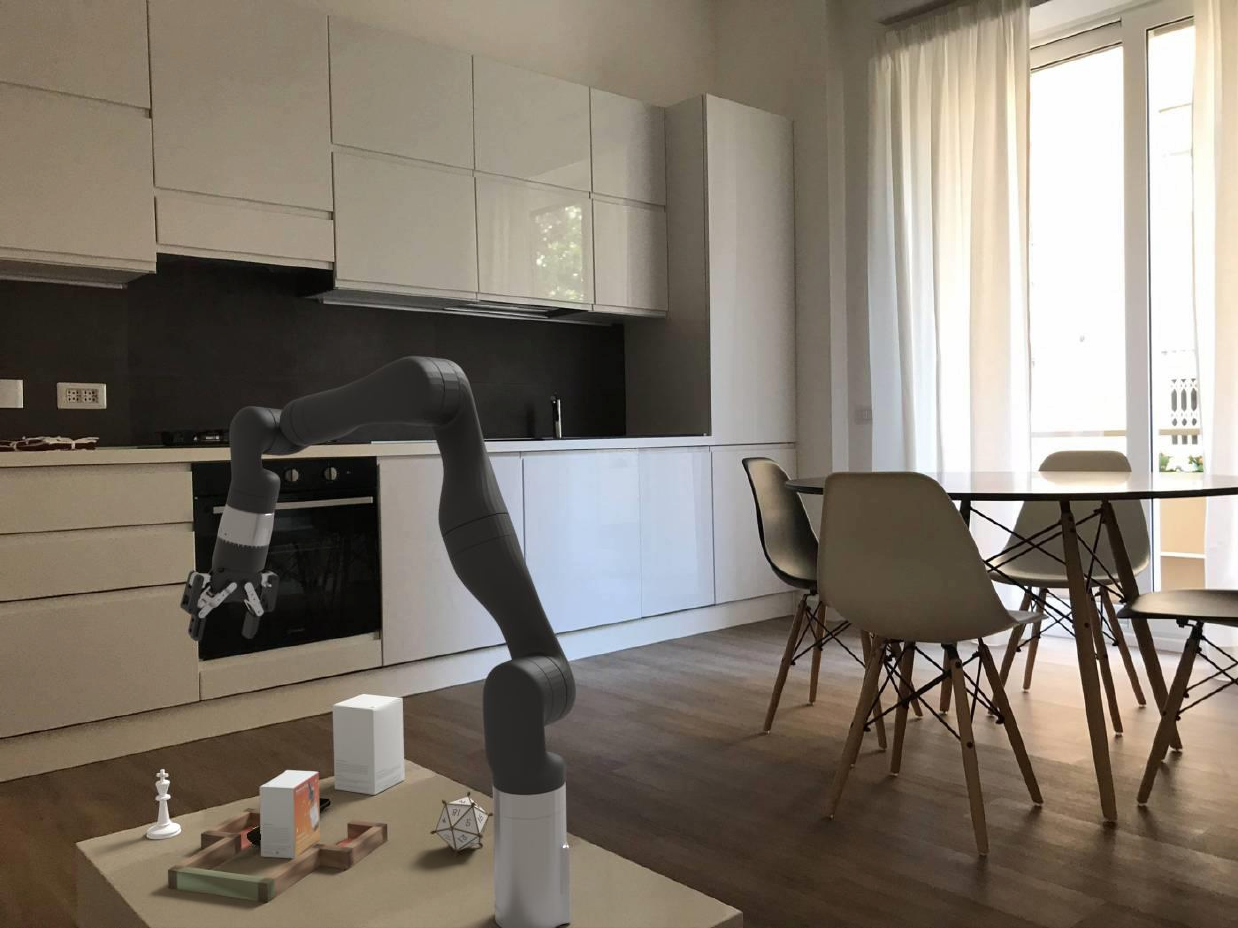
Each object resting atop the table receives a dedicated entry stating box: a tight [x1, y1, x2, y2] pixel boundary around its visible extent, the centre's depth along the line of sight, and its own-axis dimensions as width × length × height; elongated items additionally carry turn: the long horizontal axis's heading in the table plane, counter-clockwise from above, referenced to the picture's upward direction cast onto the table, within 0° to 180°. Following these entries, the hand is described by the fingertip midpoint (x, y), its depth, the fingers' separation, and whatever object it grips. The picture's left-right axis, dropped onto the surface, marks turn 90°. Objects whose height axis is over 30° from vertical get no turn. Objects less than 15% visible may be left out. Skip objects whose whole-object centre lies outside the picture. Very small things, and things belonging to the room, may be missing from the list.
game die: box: [429, 790, 493, 858], centre depth 153 cm, size 9×8×10 cm
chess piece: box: [146, 769, 182, 840], centre depth 160 cm, size 5×5×10 cm
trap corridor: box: [167, 807, 389, 903], centre depth 149 cm, size 23×25×2 cm
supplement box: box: [331, 693, 406, 796], centre depth 182 cm, size 9×9×15 cm
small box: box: [259, 769, 321, 859], centre depth 154 cm, size 8×6×10 cm
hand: (221, 637), depth 157 cm, fingers open, 8 cm apart
